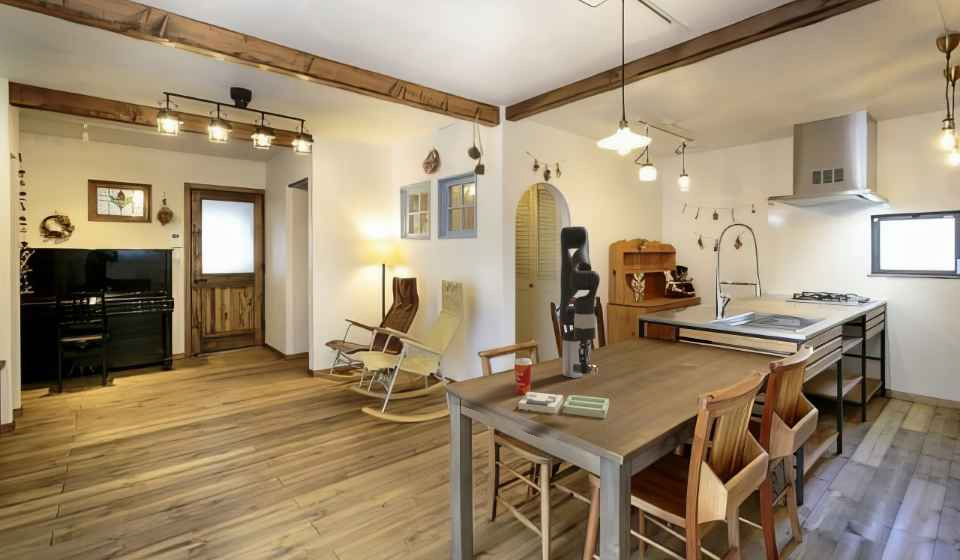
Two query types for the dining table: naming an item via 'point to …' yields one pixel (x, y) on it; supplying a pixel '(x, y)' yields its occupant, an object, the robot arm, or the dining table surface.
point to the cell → (590, 369)
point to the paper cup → (523, 375)
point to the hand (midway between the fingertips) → (584, 372)
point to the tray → (586, 406)
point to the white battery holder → (541, 402)
